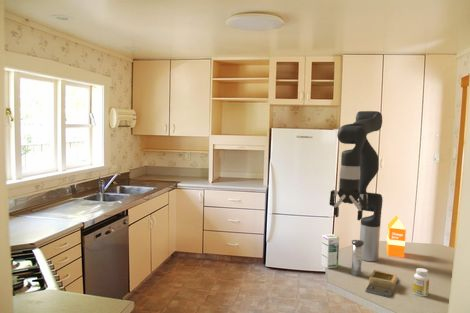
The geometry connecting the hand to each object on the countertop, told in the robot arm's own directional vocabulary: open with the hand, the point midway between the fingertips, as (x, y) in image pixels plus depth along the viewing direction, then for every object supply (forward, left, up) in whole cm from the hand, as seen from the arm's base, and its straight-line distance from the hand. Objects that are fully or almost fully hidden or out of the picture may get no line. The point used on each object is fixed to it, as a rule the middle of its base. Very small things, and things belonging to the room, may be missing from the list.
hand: (347, 218), depth 141 cm
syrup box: (-23, -13, -30) cm, 40 cm away
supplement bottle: (-16, +26, -30) cm, 42 cm away
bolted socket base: (-15, +12, -29) cm, 35 cm away
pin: (-20, 0, -29) cm, 35 cm away
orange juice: (-61, +10, -30) cm, 68 cm away
